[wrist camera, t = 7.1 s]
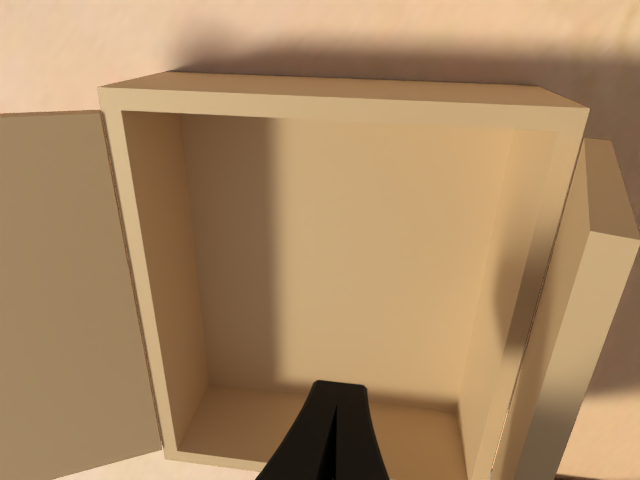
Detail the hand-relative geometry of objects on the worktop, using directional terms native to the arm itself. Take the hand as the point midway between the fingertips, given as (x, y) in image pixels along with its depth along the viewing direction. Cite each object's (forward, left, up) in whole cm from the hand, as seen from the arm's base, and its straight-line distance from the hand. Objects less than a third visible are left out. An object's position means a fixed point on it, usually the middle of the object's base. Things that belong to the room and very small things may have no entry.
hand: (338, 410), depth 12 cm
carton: (0, +1, -8) cm, 8 cm away
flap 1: (0, +10, -2) cm, 10 cm away
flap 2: (0, -5, 0) cm, 5 cm away
